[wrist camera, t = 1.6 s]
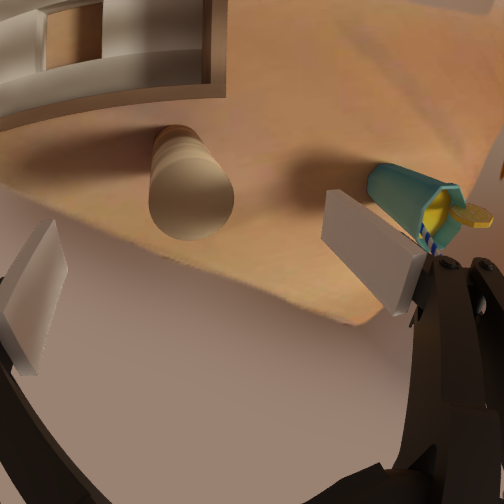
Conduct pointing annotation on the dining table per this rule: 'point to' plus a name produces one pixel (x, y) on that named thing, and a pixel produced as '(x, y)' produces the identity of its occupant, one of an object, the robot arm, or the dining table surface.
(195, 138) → the peg
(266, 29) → the dining table surface
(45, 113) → the crate
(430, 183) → the cup
